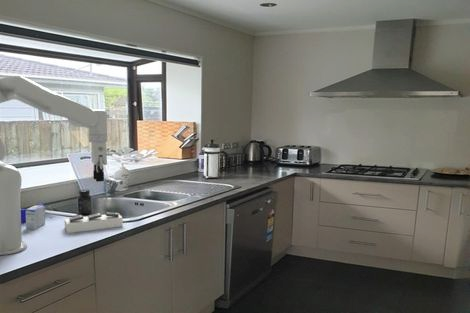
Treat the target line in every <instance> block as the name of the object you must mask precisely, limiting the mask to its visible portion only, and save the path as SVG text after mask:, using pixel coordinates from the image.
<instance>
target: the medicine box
mask: <svg viewBox="0 0 470 313" xmlns="http://www.w3.org/2000/svg"><path fill="white" fill-rule="evenodd" d="M45 209H46V207H45V206H41V205H33V206H31V207H29V208H26V222H25V229H26V230H37V229H39V228H40V227H41V226H44V225H45V224H46V219H45V218H46V210H45Z"/></svg>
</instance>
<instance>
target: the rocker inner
mask: <svg viewBox="0 0 470 313" xmlns="http://www.w3.org/2000/svg"><path fill="white" fill-rule="evenodd" d="M83 217H84V216H82V215H75V216H72V217H71V216H70V217H69V218H68V219H69V220H70V222H73V221H77V220H81V219H83Z"/></svg>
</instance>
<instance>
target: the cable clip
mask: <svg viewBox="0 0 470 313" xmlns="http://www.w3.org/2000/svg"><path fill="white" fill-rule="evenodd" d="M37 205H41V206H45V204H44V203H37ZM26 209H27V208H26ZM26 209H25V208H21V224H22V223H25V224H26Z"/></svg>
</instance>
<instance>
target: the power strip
mask: <svg viewBox="0 0 470 313" xmlns="http://www.w3.org/2000/svg"><path fill="white" fill-rule="evenodd" d="M88 216H89V215H87V216H83V219H81V220H77V221H73V222H70V220H69V218H64V229H65V231H66V233H67V234H70V233H71V234H72V233H78V232H87V231H95V230H103V229H111V228H118V227H123V217H122V215H121V214H119V217H112V216H106V215H105V214H101V216H102V217H99V218H95V219H91V220H89V219H88Z"/></svg>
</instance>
